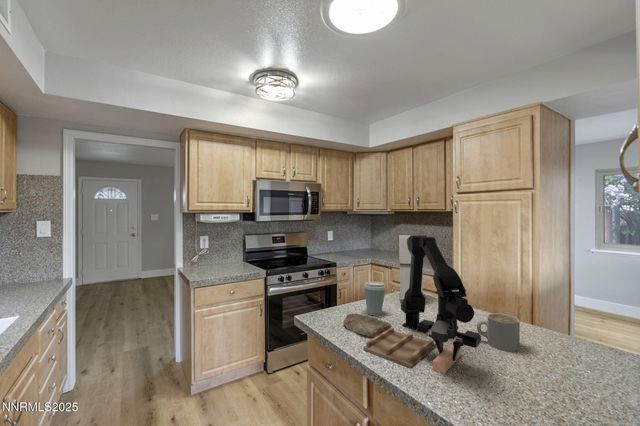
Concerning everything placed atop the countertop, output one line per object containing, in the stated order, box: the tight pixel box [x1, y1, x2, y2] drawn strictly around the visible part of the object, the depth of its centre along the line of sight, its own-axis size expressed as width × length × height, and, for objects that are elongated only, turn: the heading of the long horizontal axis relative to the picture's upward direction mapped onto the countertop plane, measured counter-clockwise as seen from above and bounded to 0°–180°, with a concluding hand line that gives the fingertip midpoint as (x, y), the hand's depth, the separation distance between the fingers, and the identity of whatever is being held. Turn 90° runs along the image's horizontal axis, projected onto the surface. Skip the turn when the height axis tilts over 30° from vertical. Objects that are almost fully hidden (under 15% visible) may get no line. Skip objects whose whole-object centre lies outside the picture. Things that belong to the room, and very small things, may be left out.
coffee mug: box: [476, 312, 521, 352], centre depth 110 cm, size 13×10×10 cm
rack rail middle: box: [386, 332, 414, 355], centre depth 107 cm, size 18×1×2 cm, turn 137°
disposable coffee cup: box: [363, 281, 387, 317], centre depth 142 cm, size 11×11×15 cm
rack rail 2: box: [408, 338, 435, 363], centre depth 102 cm, size 18×1×2 cm, turn 137°
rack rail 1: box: [365, 326, 395, 348], centre depth 113 cm, size 18×1×2 cm, turn 137°
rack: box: [363, 330, 437, 369], centre depth 107 cm, size 20×18×1 cm
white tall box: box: [398, 234, 424, 304], centre depth 161 cm, size 11×11×35 cm
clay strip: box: [432, 343, 463, 375], centre depth 98 cm, size 16×4×3 cm, turn 138°
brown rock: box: [342, 313, 393, 338], centre depth 126 cm, size 14×5×20 cm
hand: (447, 358), depth 98 cm, fingers open, 4 cm apart
